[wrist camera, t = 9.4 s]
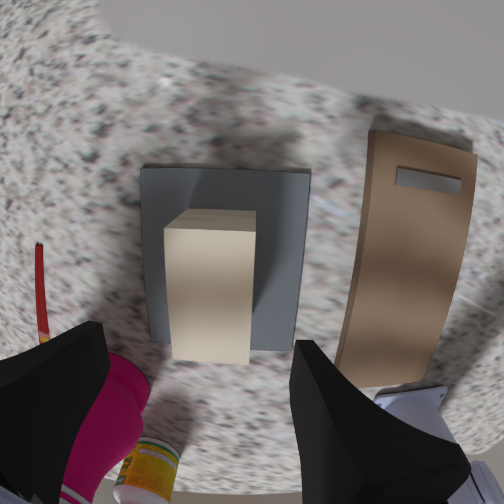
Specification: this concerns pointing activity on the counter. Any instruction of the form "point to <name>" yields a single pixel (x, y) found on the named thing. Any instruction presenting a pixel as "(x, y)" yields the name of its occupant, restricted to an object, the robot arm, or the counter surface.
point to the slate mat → (266, 241)
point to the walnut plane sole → (405, 258)
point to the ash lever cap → (210, 284)
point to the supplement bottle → (147, 473)
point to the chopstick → (40, 296)
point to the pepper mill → (106, 431)
